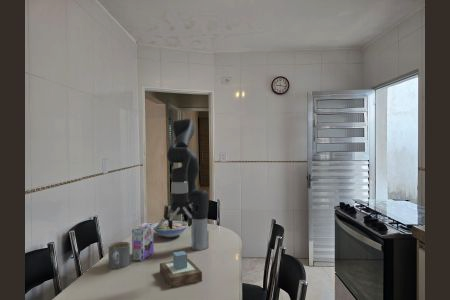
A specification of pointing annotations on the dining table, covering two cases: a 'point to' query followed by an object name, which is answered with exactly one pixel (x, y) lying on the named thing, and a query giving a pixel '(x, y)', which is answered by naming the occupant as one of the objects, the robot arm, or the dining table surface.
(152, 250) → the candy box
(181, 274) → the walnut base
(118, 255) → the coffee mug
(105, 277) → the dining table surface
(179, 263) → the slate block
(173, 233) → the ramen bowl
